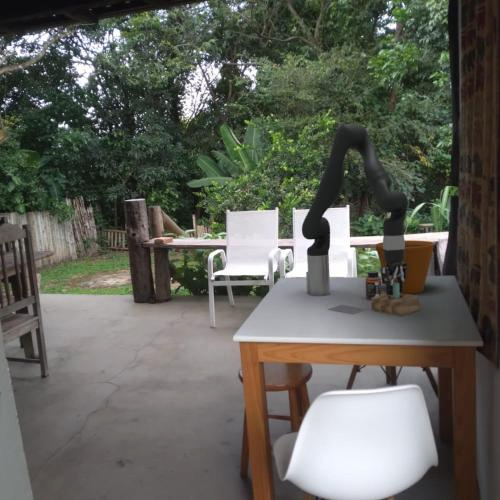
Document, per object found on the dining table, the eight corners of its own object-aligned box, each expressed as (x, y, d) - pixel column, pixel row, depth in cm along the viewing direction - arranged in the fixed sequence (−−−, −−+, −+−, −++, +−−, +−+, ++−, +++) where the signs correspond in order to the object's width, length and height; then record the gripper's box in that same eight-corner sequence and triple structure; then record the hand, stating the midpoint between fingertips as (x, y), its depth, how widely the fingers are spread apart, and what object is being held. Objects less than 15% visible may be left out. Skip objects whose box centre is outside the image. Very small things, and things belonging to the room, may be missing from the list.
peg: (389, 310, 177) (389, 283, 176) (394, 308, 179) (393, 282, 178) (396, 311, 175) (396, 284, 173) (401, 310, 177) (400, 283, 175)
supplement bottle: (381, 301, 192) (381, 272, 190) (366, 301, 193) (365, 273, 192) (380, 297, 198) (380, 270, 196) (365, 297, 199) (365, 270, 197)
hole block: (371, 311, 177) (371, 298, 177) (390, 304, 185) (389, 291, 185) (401, 316, 168) (400, 302, 168) (419, 309, 176) (418, 295, 176)
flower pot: (446, 289, 206) (446, 242, 203) (410, 298, 193) (409, 248, 190) (400, 282, 225) (399, 239, 223) (365, 290, 212) (363, 245, 210)
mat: (326, 310, 182) (326, 309, 182) (341, 305, 188) (341, 304, 188) (353, 315, 173) (353, 314, 173) (367, 310, 179) (367, 309, 179)
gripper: (395, 244, 181) (396, 288, 183) (373, 249, 172) (374, 295, 174) (414, 245, 176) (414, 291, 178) (391, 250, 166) (393, 298, 168)
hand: (394, 293), depth 176 cm, fingers open, 6 cm apart
